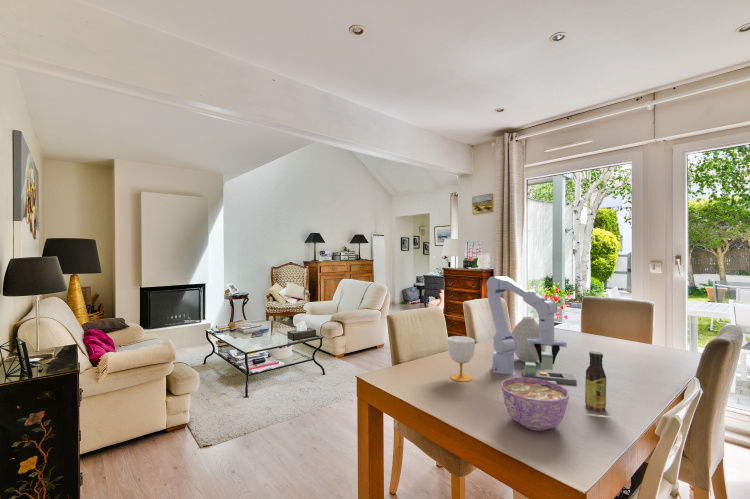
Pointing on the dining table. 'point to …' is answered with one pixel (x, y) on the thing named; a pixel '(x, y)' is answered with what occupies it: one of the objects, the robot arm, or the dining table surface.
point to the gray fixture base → (547, 375)
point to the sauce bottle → (595, 384)
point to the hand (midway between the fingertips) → (546, 363)
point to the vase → (523, 332)
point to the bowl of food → (535, 402)
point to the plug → (547, 360)
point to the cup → (461, 354)
